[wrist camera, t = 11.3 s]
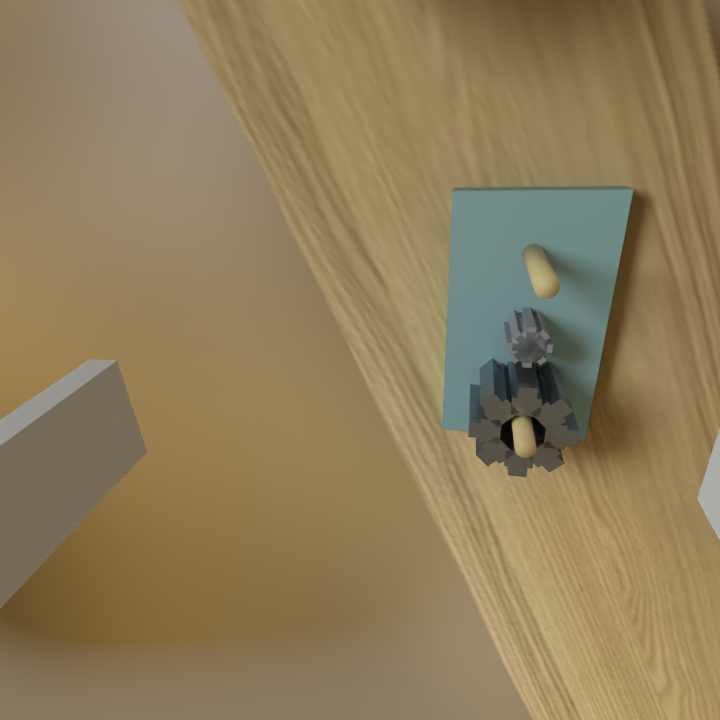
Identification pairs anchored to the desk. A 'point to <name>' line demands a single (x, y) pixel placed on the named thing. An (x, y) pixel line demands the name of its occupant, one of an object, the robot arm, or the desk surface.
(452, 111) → the desk surface
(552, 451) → the gear
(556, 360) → the carrier
